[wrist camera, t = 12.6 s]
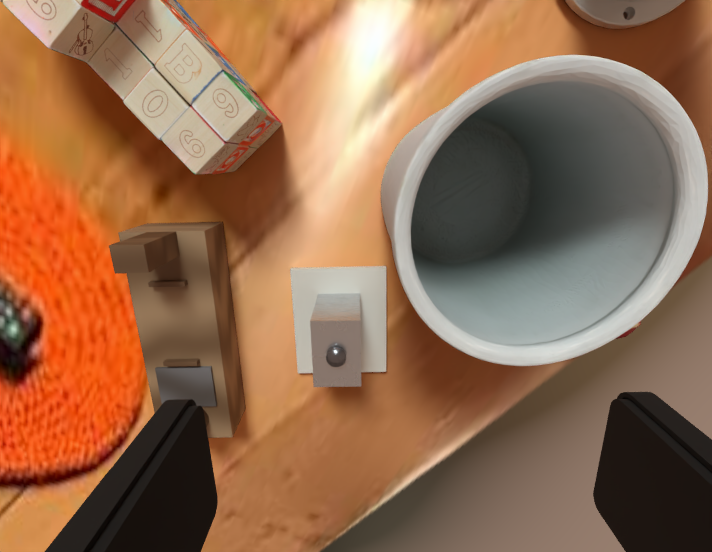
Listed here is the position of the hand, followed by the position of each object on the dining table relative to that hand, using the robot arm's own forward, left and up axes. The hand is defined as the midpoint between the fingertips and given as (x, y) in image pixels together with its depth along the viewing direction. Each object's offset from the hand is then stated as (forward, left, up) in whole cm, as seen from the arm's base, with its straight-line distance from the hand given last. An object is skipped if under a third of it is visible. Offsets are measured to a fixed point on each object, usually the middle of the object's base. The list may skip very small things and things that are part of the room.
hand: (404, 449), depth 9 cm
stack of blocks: (-15, -16, -29) cm, 37 cm away
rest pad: (+9, -3, -28) cm, 30 cm away
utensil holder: (-3, +8, -28) cm, 30 cm away
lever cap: (+9, -3, -28) cm, 29 cm away
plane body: (+9, -17, -28) cm, 34 cm away
